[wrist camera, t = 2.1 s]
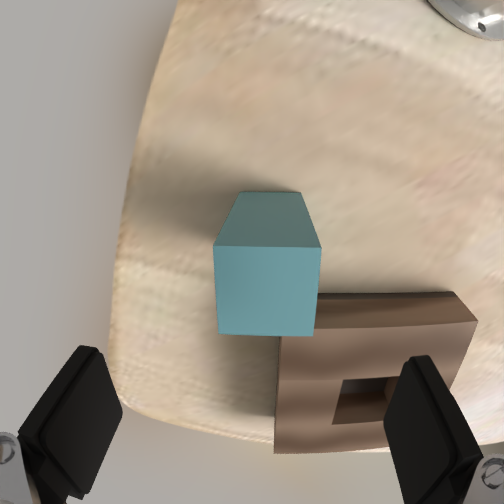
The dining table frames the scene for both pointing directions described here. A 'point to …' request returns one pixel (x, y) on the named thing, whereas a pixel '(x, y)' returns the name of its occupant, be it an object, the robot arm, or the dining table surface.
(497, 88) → the dining table surface
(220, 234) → the peg
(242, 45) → the dining table surface
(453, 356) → the bore block
